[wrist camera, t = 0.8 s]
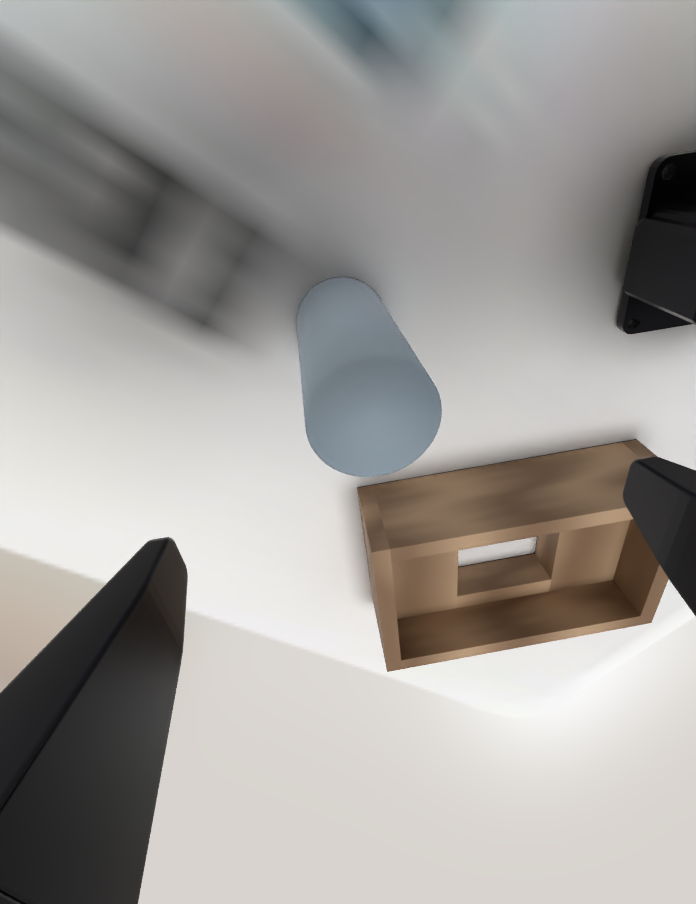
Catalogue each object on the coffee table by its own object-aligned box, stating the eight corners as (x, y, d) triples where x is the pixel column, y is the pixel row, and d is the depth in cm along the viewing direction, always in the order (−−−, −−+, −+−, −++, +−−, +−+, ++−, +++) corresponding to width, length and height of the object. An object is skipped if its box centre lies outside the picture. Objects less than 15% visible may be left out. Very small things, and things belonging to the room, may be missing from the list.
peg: (381, 270, 18) (441, 345, 11) (388, 357, 20) (442, 465, 13) (288, 285, 18) (293, 369, 11) (305, 371, 20) (317, 486, 13)
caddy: (636, 439, 24) (702, 494, 20) (603, 561, 29) (651, 622, 25) (357, 487, 24) (371, 552, 20) (373, 602, 29) (387, 671, 25)
